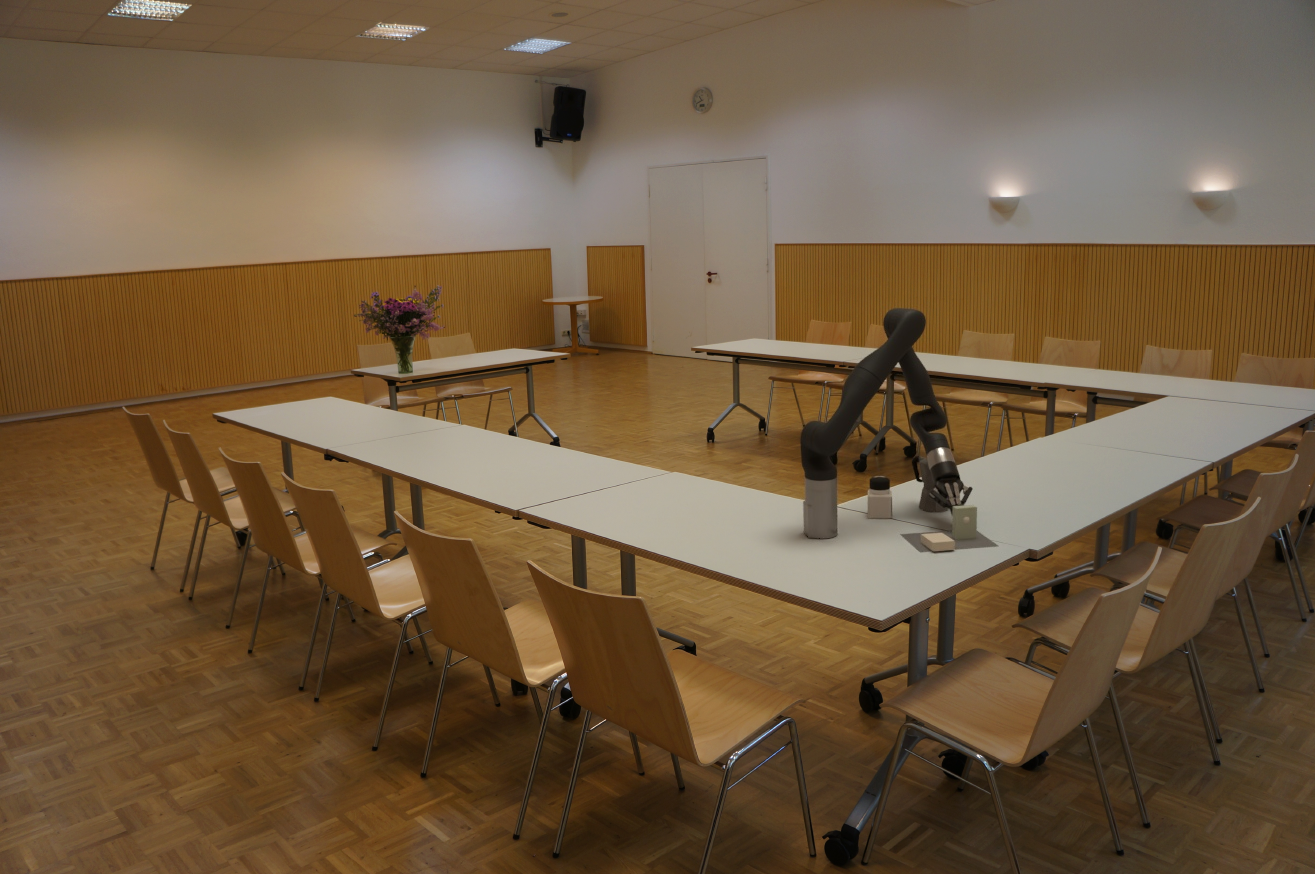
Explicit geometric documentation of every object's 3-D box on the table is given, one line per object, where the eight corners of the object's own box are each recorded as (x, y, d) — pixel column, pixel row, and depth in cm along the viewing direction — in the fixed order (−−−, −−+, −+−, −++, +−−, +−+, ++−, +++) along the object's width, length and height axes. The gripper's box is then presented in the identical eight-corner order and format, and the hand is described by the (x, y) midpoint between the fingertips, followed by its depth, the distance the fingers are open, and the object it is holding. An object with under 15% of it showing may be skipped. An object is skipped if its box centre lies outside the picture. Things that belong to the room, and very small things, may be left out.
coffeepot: (961, 509, 293) (962, 453, 290) (941, 515, 288) (942, 458, 284) (921, 499, 306) (922, 445, 302) (901, 505, 300) (902, 450, 297)
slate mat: (920, 554, 255) (920, 552, 255) (899, 536, 271) (899, 534, 271) (999, 548, 257) (999, 546, 257) (974, 530, 273) (974, 528, 273)
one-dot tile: (955, 540, 264) (956, 508, 262) (952, 537, 266) (952, 506, 264) (976, 538, 264) (977, 507, 262) (972, 535, 267) (973, 504, 265)
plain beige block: (920, 543, 263) (933, 552, 254) (920, 534, 262) (933, 542, 254) (941, 541, 263) (954, 550, 254) (941, 532, 263) (954, 541, 254)
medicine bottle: (891, 518, 287) (892, 480, 285) (867, 518, 289) (867, 480, 286) (891, 512, 294) (891, 474, 292) (867, 511, 296) (867, 474, 293)
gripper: (924, 461, 274) (940, 514, 264) (968, 458, 275) (985, 510, 266) (917, 474, 280) (932, 526, 271) (960, 471, 281) (977, 523, 272)
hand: (958, 518), depth 268 cm, fingers closed
